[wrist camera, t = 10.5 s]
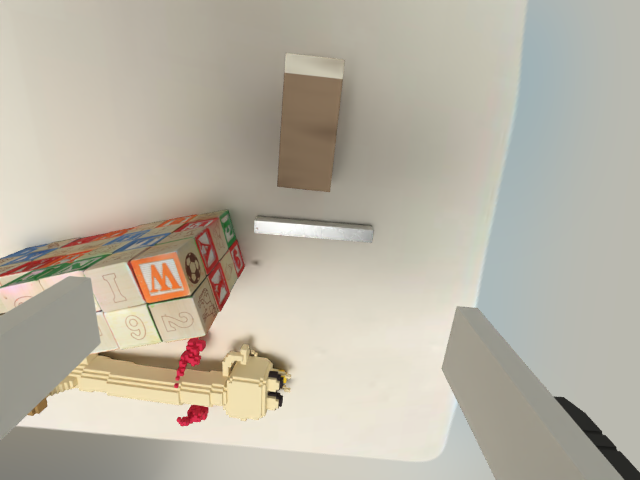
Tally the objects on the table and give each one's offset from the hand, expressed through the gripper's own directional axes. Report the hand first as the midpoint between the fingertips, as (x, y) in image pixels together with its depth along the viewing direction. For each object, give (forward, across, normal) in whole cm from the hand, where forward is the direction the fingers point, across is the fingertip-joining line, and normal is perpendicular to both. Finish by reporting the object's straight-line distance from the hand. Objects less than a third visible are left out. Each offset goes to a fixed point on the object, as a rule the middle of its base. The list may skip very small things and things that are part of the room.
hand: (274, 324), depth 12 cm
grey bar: (+20, +1, -2) cm, 21 cm away
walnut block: (+18, 0, +2) cm, 18 cm away
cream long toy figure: (+21, -13, -20) cm, 31 cm away
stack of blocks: (+21, -16, -7) cm, 27 cm away
